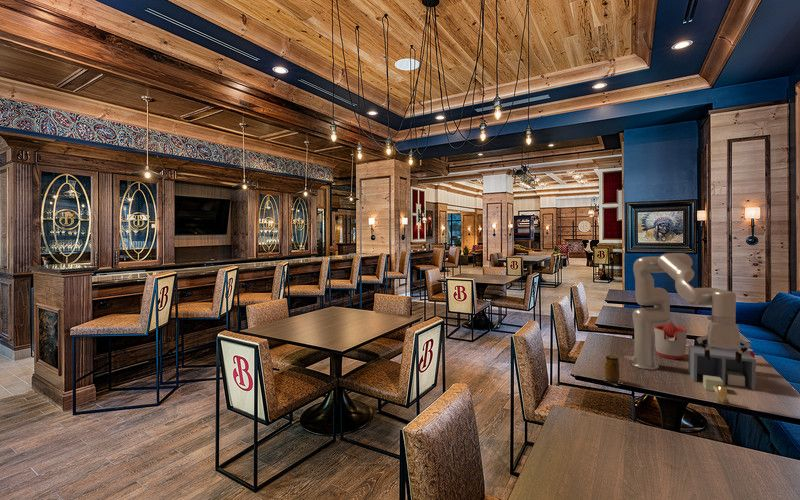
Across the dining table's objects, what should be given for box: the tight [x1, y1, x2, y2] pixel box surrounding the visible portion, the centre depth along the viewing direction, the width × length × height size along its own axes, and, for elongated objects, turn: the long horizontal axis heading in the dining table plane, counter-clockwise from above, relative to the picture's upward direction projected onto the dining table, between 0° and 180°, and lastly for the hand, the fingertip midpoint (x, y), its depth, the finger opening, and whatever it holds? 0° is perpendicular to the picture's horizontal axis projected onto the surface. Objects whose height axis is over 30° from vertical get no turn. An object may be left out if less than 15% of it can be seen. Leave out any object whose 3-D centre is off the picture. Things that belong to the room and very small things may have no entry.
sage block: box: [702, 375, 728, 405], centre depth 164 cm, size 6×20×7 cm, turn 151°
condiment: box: [604, 354, 620, 386], centre depth 181 cm, size 7×8×12 cm
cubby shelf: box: [687, 344, 757, 391], centre depth 180 cm, size 22×14×14 cm, turn 61°
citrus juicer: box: [653, 322, 688, 360], centre depth 216 cm, size 16×17×20 cm
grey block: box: [725, 371, 746, 388], centre depth 177 cm, size 6×6×5 cm
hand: (722, 360), depth 156 cm, fingers open, 9 cm apart
